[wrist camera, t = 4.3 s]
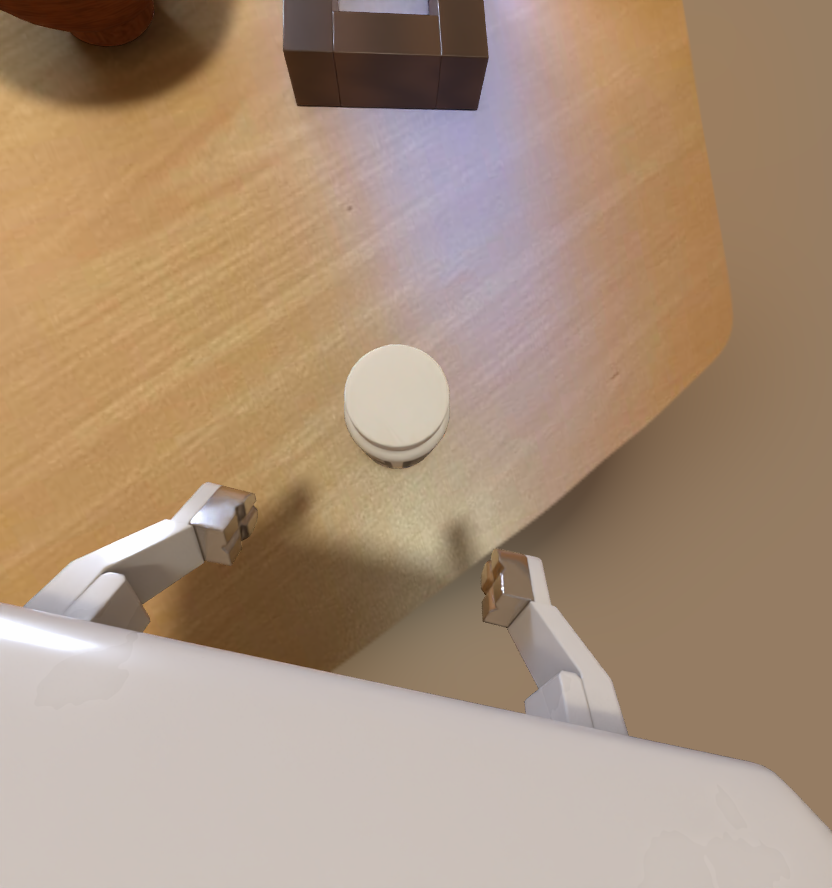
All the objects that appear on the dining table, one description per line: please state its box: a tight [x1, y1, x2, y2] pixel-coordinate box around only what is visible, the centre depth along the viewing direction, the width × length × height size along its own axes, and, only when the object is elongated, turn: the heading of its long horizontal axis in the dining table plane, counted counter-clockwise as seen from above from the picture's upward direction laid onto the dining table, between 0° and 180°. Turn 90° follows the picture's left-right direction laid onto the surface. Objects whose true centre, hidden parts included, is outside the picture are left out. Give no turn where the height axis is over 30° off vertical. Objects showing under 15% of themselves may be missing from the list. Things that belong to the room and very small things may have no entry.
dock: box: [283, 0, 489, 110], centre depth 23 cm, size 13×13×3 cm
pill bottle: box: [344, 344, 450, 468], centre depth 17 cm, size 5×5×8 cm
